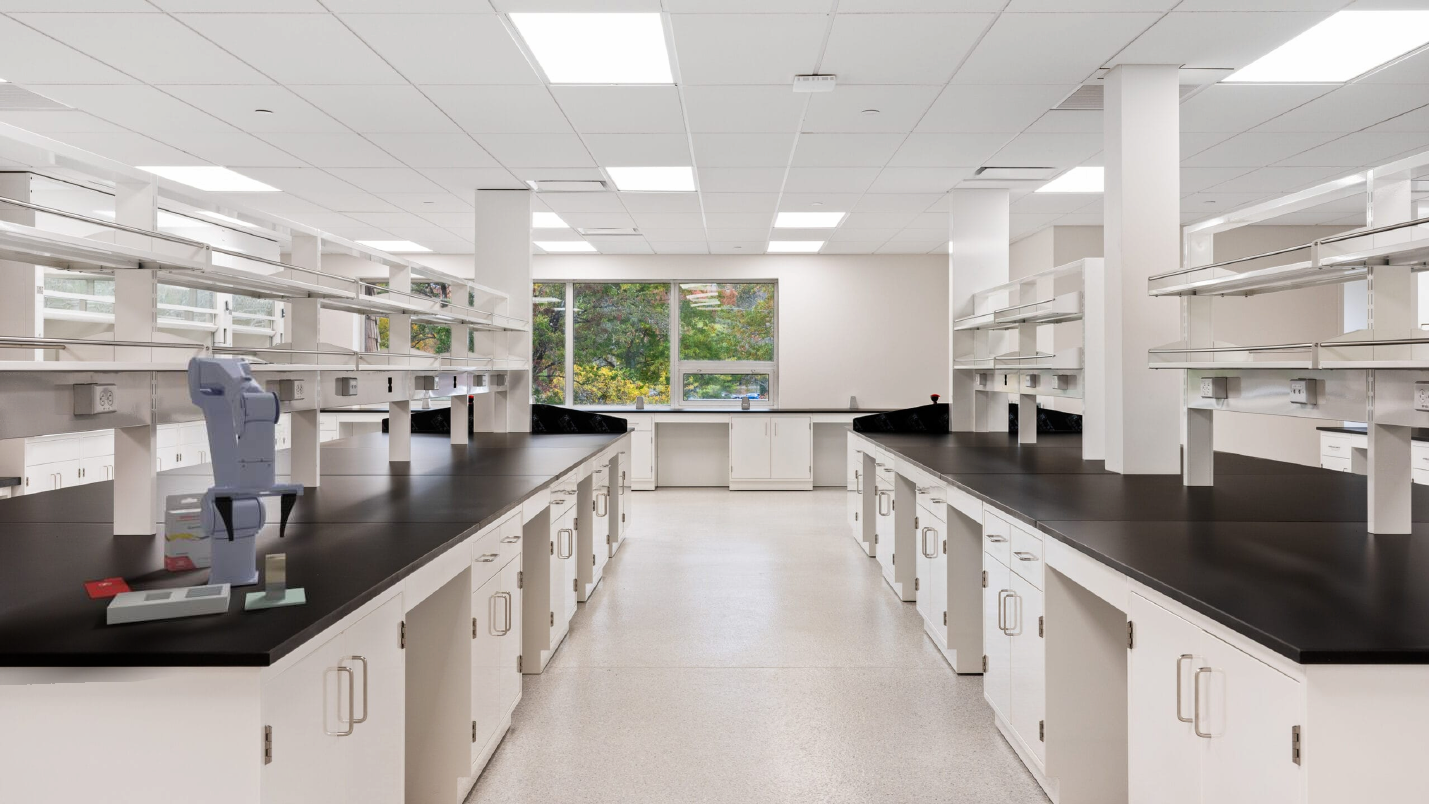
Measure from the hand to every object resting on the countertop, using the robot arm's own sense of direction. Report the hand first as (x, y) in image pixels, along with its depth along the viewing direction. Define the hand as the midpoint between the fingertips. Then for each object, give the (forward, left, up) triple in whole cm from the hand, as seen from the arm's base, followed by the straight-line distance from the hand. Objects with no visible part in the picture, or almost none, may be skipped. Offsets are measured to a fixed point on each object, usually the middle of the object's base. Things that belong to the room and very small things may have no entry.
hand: (256, 538), depth 142 cm
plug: (+2, +3, -10) cm, 11 cm away
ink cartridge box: (-32, -12, -11) cm, 36 cm away
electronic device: (-19, -24, -11) cm, 33 cm away
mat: (+3, +3, -10) cm, 11 cm away
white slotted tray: (+3, -12, -10) cm, 16 cm away
